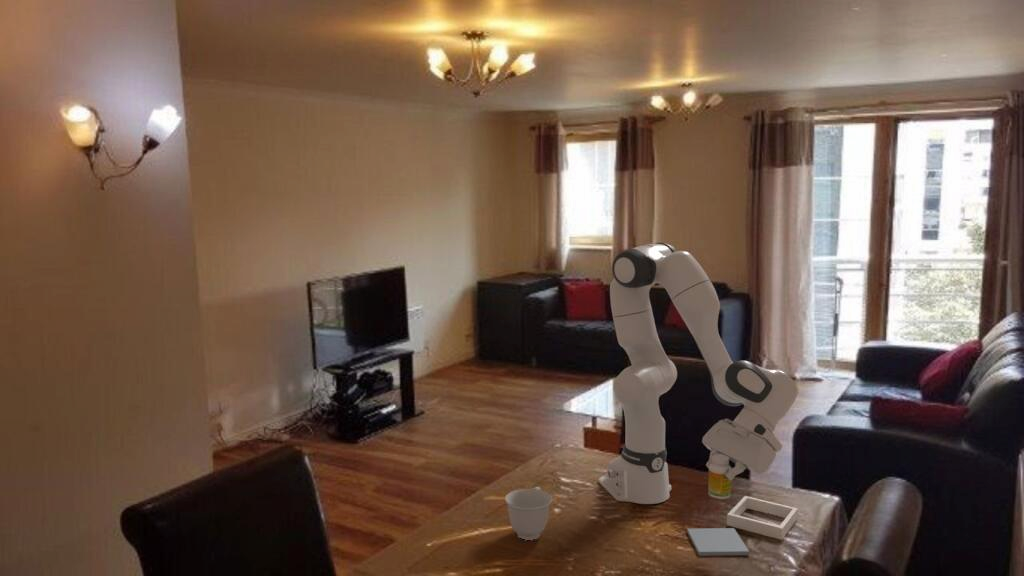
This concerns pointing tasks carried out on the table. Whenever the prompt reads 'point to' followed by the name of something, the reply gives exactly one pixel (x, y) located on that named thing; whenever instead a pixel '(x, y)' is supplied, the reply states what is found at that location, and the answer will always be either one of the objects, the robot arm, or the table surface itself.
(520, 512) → the teacup
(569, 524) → the table surface
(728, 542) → the pad
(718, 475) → the supplement bottle
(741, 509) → the bin
